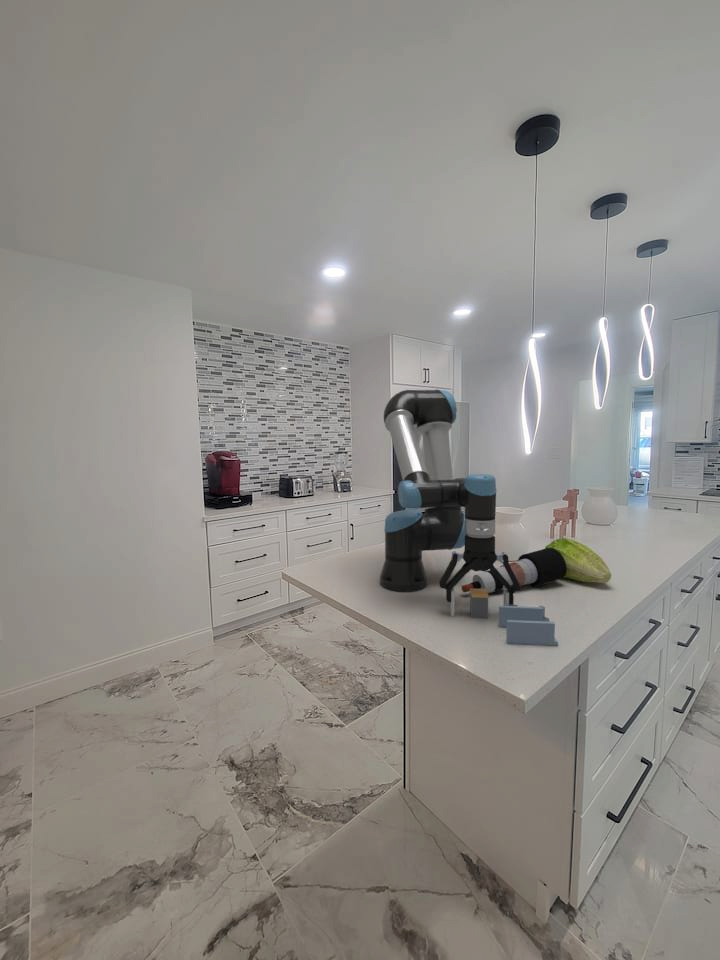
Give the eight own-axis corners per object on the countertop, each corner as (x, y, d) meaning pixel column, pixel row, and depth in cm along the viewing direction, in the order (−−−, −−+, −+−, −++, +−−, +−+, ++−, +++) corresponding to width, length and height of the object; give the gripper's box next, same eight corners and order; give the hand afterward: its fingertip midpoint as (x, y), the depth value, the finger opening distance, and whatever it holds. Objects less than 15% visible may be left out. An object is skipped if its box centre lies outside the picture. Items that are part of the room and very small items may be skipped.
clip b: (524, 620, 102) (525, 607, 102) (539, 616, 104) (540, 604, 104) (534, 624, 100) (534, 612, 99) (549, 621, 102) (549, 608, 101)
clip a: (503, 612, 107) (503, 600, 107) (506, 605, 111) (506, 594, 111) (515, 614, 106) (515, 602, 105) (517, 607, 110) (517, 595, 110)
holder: (507, 643, 91) (507, 621, 90) (498, 625, 100) (499, 605, 99) (557, 645, 90) (558, 623, 89) (544, 627, 98) (545, 607, 98)
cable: (461, 608, 121) (449, 574, 124) (549, 581, 132) (537, 551, 135) (478, 604, 112) (465, 569, 115) (571, 576, 123) (558, 544, 126)
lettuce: (587, 576, 118) (619, 547, 120) (531, 549, 138) (559, 525, 140) (599, 606, 122) (629, 578, 125) (543, 576, 142) (570, 552, 145)
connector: (471, 618, 104) (471, 594, 103) (469, 611, 108) (469, 588, 107) (488, 619, 103) (488, 594, 103) (485, 612, 107) (485, 588, 107)
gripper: (431, 537, 102) (431, 618, 103) (535, 538, 98) (533, 622, 100) (429, 530, 109) (429, 607, 111) (526, 532, 106) (524, 610, 108)
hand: (478, 614), depth 106 cm, fingers open, 13 cm apart
